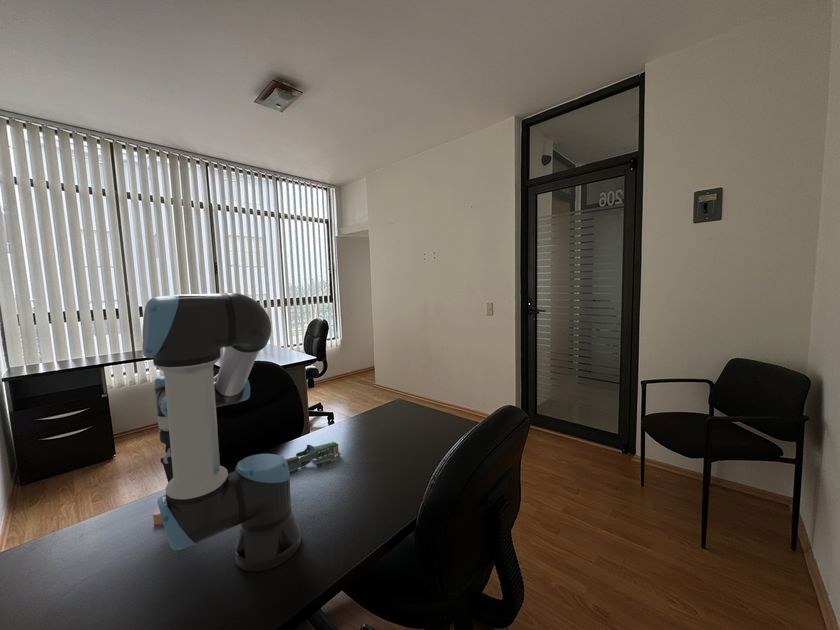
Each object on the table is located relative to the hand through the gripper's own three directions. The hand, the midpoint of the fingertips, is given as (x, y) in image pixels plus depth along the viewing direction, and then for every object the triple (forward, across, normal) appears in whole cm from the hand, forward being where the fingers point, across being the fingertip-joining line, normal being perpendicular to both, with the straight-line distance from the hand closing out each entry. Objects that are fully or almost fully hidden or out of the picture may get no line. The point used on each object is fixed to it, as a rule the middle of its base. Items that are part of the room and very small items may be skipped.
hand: (181, 500), depth 107 cm
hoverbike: (+2, +16, -34) cm, 38 cm away
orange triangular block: (+1, -5, 0) cm, 5 cm away
